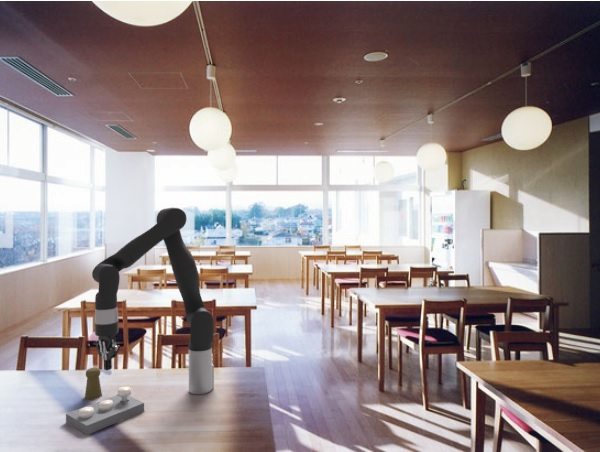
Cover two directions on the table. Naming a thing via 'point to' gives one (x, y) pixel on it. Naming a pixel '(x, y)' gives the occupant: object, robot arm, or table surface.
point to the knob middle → (105, 405)
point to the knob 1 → (86, 412)
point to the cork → (93, 384)
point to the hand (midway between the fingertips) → (107, 369)
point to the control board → (105, 414)
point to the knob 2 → (124, 393)
